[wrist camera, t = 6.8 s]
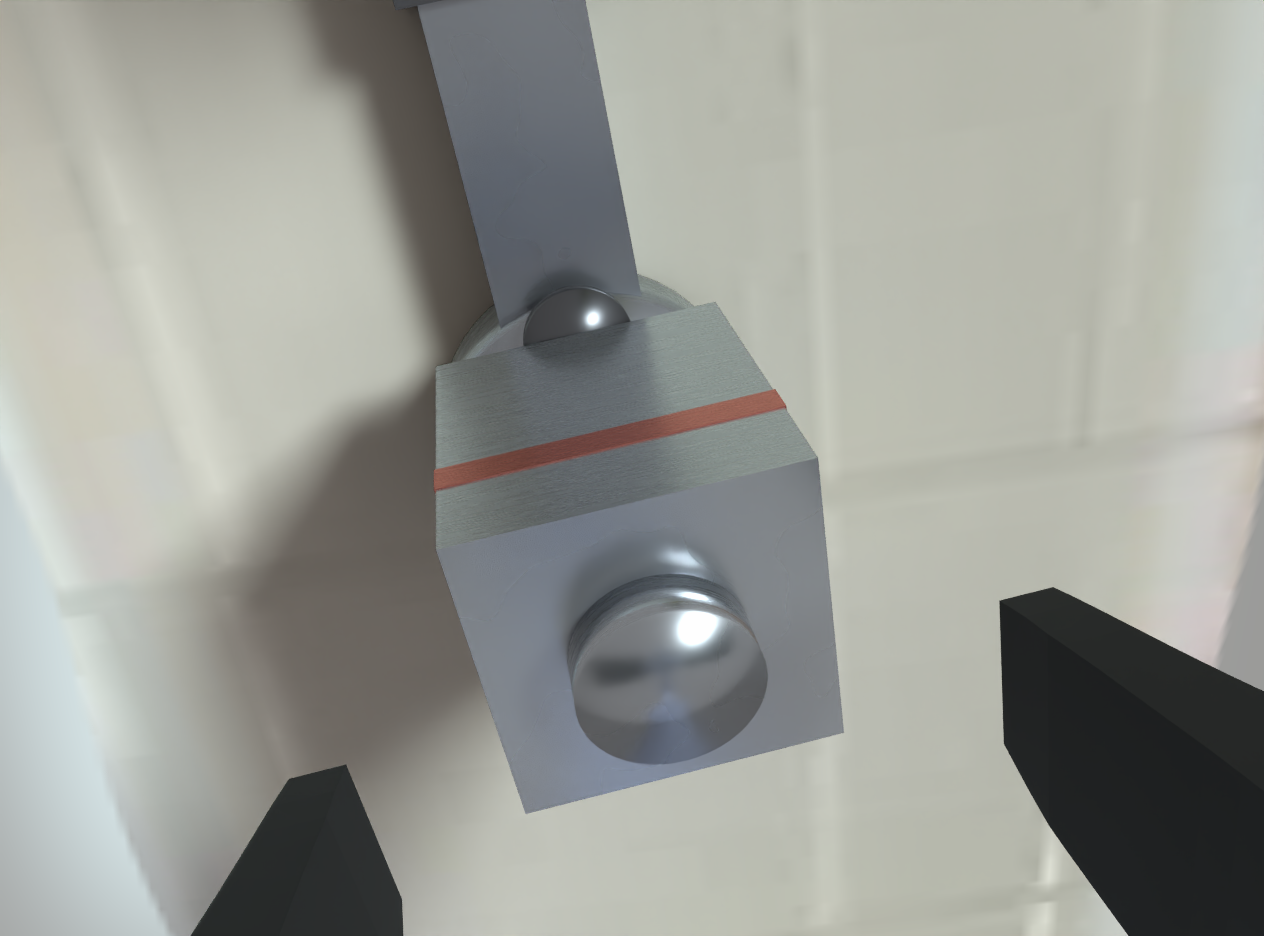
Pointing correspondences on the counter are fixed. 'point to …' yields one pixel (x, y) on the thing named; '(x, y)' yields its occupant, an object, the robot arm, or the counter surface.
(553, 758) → the striped cube with knob
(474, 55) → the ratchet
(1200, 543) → the counter surface
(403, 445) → the counter surface
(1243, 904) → the robot arm
